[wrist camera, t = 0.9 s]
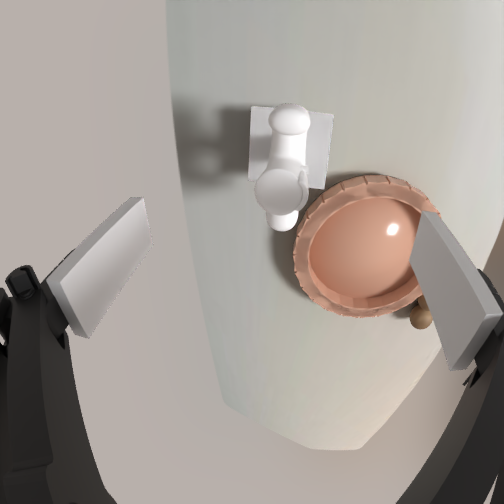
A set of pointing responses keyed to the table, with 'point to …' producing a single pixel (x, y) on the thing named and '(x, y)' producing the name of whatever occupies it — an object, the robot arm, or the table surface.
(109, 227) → the robot arm
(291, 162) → the figurine
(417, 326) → the wooden beads
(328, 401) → the table surface
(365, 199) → the dish
